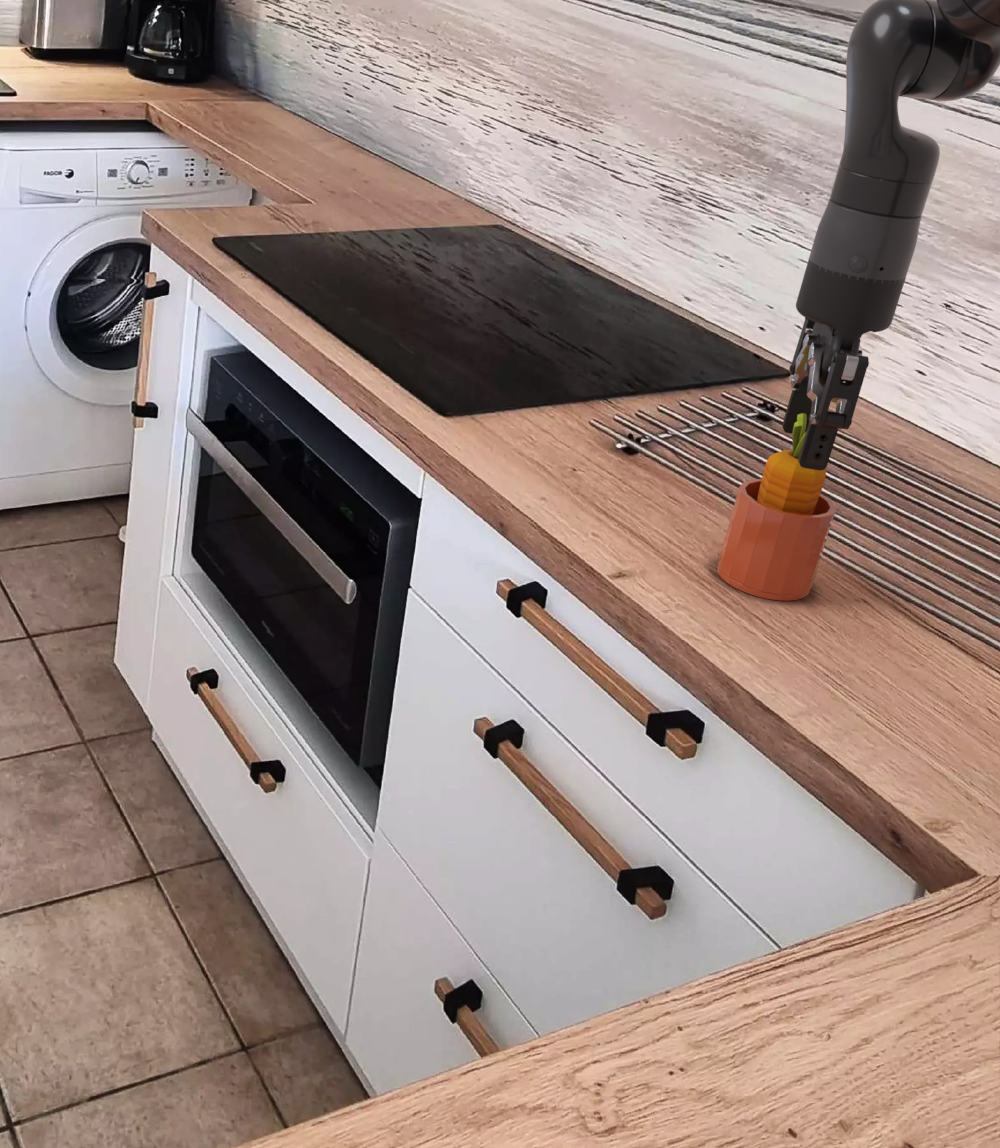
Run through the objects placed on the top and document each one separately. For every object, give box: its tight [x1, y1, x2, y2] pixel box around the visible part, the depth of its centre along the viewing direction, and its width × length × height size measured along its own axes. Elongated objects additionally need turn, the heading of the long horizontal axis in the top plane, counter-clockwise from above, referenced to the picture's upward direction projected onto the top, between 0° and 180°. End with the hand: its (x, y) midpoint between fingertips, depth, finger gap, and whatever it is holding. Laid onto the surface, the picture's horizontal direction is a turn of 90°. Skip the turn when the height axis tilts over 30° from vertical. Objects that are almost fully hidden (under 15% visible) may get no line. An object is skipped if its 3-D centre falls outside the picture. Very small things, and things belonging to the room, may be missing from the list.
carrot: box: [757, 413, 827, 515], centre depth 130 cm, size 5×5×15 cm
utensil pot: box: [716, 478, 837, 602], centre depth 132 cm, size 8×8×8 cm
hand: (802, 449), depth 128 cm, fingers open, 8 cm apart
